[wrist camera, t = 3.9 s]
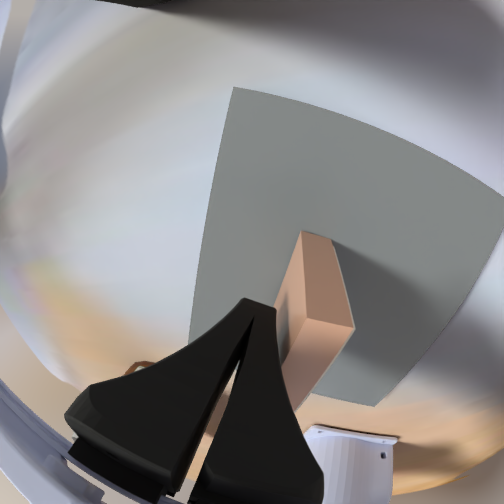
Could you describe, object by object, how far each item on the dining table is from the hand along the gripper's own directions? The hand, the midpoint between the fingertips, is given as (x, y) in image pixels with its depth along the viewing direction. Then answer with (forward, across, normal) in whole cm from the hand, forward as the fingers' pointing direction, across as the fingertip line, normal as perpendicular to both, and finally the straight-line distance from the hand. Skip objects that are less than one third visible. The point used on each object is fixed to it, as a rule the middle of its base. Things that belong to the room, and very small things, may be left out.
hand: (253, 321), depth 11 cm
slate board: (+5, -3, 0) cm, 6 cm away
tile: (+3, -1, 0) cm, 4 cm away
